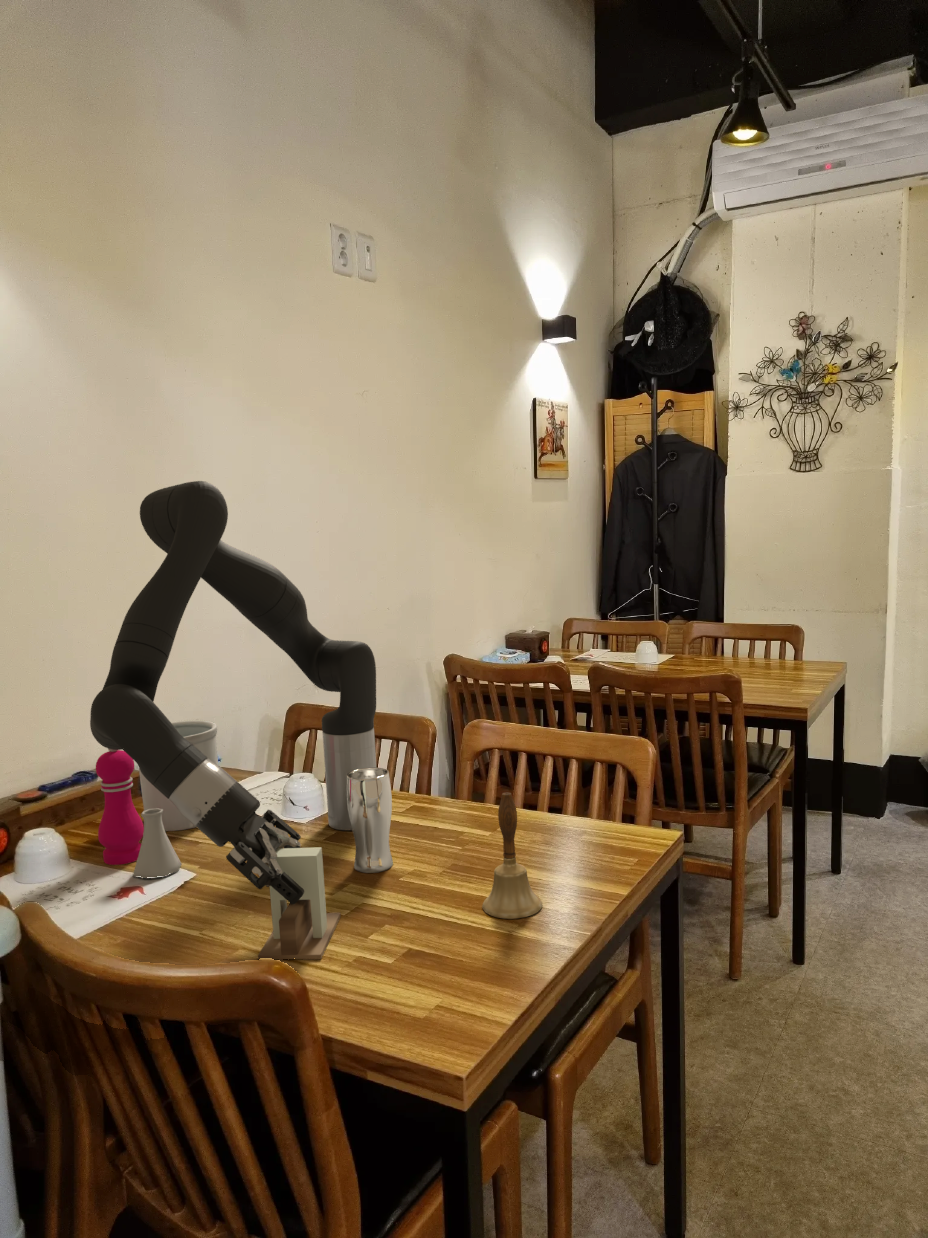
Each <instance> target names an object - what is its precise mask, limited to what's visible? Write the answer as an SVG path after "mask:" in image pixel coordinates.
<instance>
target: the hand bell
mask: <svg viewBox="0 0 928 1238" xmlns="http://www.w3.org/2000/svg"><path fill="white" fill-rule="evenodd" d="M497 815H498V817H497V818H498V825H499V829H500V832H501V835H502V841H503V845H502V846H503V847H502V849H503V854H502V856H503V861H502V862H503V863H502V864H499V865H497V867H495V868H494V872H493V884H492V888H491V891H490V892H489V895H488V896H487V897H486V898H485V899H484V901H483V902H482V905H481V906H482V910H483V911H484V912H485V913H486V914H487V915H489V916H492V917H495V918H498V919H499V918H500V919H505V920H507V919H508V920H514V919H515V920H516V919H520V918H521V919H522V918H526V917H530V916H533V915H536V914H537V913H538V912H539V911H540V910H542V908H543V901H542V900H541V898H540V897H539V896H538V895H537V894H536V893H535V892H534V891H533V889H532V886H531V885H530V881H529V877H528V871H527V868H526V866H524V865H523V864H520V863H518V862H517V860H516V859H517V857H516V854H517V853H516V846H515V835H516V831H517V827H518V826H517V825H518V812H517V807H516V804H515V801H514V799H513V796H512V793H511V792H509V791H508V792H507V791H506V792H502V794H501V797H500V802H499V806H498V812H497Z"/></svg>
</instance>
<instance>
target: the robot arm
mask: <svg viewBox="0 0 928 1238" xmlns="http://www.w3.org/2000/svg"><path fill="white" fill-rule="evenodd" d="M228 517H229V511H228V505H227V501H226V499H225V497H224V494H222V492H221V491H220V490H219V488H218V487H216V486H215V485H214V484H212V483H211V482H209V481H203V480H197V481H196V480H195V481H194V480H193V481H188V482H183V483H180V484H179V483H178V484H175V485H171V486H167V487H163V488H160V489H159V488H158V489H157V490H154V491H153V492H150V493H149V494H147V495H146V496H145V497H144V498H143V500H142V502H141V503H140V507H139V519H140V523H141V525H142V527H143V530H144V532H145V533H146V535H147V536H148V537H149V538H148V539H150V540H151V541H152V542H153V543H154V545H156V546H157V547H158V548H159V549H161V550H162V551H163V552H165V553H166V556H165V558H164V559H163V561H162V562H161V564H160V566H159V567H158V569H157V570H156V572H155V573H154V574H153V576H152V577H151V578H150V579H149V581H148V582H147V583H146V584H145V586H144V587H143V588H142V589H141V591H140V592H139V593H138V595H137V596H136V598H135V599H134V600H133V602H132V603H131V605H130V606H129V608H128V610H127V611H126V614H125V616H124V619H123V620H122V624H121V627H120V630H119V633H118V635H117V638H116V640H115V643H114V645H113V650H112V654H111V659H110V665H109V666H110V667H109V669H108V670H109V671H108V674H107V677H106V680H105V682H104V684H103V687H102V689H101V690H100V691H99V692H98V693H97V694H96V696H95V697H94V699H93V701H92V703H91V707H90V718H89V719H90V720H89V726H90V727H89V728H90V732H91V734H92V736H93V738H94V739H95V740H96V741H97V743H98V744H100V746H102V747H104V748H106V749H107V750H108V749H112V750H122V751H125V752H126V753H127V754H128V755H129V756H130V757H131V758H132V759H133V760H134V763H136V765H138V769H139V768H140V771H141V773H142V774H143V776H144V777H145V778H146V779H147V780H148V781H149V782H150V783H151V784H152V785H154V787H155V788H156V789H158V790H159V791H160V792H161V793H162V794H163V795H164V796H165V797H167V798H168V799H169V800H170V801H171V802H172V803H173V804H174V805H175V807H176V808H177V809H178V810H179V811H180V812H181V813H182V814H183V815H184V816H185V817H186V818H187V819H188V820H189V821H190V822H192V823H193V824H194V825H195V826H196V827H195V828H197V829H198V830H199V831H200V832H202V834H204V835H205V836H206V837H207V838H208V839H210V841H212V843H214V844H215V845H216V846H217V847H219V848H222V847H225V846H226V844H227V843H230V844H231V845H232V846H233V848H232V850H230V851H229V853H228V854H226V856H225V857H226V858H225V859H226V860H227V861H228V862H229V863H230V864H231V865H232V866H233V867H234V868H236V869H237V871H239V872H240V874H242V875H243V876H244V878H246V879H247V880H248V881H249V882H250V883H251V884H252V885H253V886H255V887H256V888H257V889H258V890H262V889H263V888H265V887H267V888H270V886H272V887H273V888H274V889H275V890H276V891H277V892H278V893H279V894H281V895H282V896H283V897H284V898H285V899H286V900H287V903H291V904H295V903H296V902H297V901H298V900H299V899H300V898H301V897H302V896H303V894H304V889H303V888H302V887H301V886H299V885H298V884H297V883H296V882H295V881H294V880H293V879H292V878H290V877H289V876H288V875H287V874H286V873H285V872H283V873H282V870H281V868H280V866H279V865H278V863H277V861H276V859H277V854H276V852H275V851H276V849H279V848H301V846H302V844H301V841H300V839H301V835H300V834H299V832H297V831H296V830H295V829H294V828H292V827H291V826H290V825H289V824H288V823H287V822H285V820H283V819H282V818H280V817H279V816H278V815H277V814H276V813H275V812H273V811H272V810H271V809H267V810H266V811H265V812H264V813H263V814H262V815H261V816H260V815H259V814H257V812H256V811H257V810H258V809H259V808H260V806H261V802H260V800H258V799H257V798H256V797H255V796H254V795H253V794H252V793H251V792H250V791H248V790H247V789H246V788H245V787H244V786H243V785H241V783H240V782H239V781H237V780H236V779H235V778H234V777H233V776H231V774H229V773H228V772H227V771H226V770H225V769H224V768H223V767H221V766H220V765H219V764H218V765H217V764H215V763H214V762H212V761H211V760H210V759H207V757H206V756H205V755H204V754H203V753H202V752H201V751H199V750H198V749H197V748H196V747H195V746H194V745H193V744H192V743H190V742H189V741H188V740H186V739H185V738H184V737H183V736H182V735H181V734H180V733H179V732H178V731H177V730H176V728H175V727H174V726H173V725H172V723H171V722H172V721H170V720H169V718H168V717H167V716H166V715H165V714H164V713H163V711H162V710H161V709H160V708H159V707H158V706H157V705H156V703H155V702H154V701H155V697H156V692H157V689H158V685H159V682H160V679H161V677H162V675H163V673H164V671H165V668H166V666H167V663H168V661H169V657H170V655H171V651H172V649H173V645H174V642H175V640H176V635H177V631H178V629H179V625H181V624H180V623H181V621H182V619H183V616H184V615H185V614H184V613H185V612H186V608H187V607H188V604H189V602H190V599H191V598H192V595H193V594H194V591H195V590H196V587H197V585H198V583H199V581H200V580H201V579H202V580H203V581H205V582H206V583H207V584H208V585H209V587H211V588H212V589H213V590H214V591H216V592H217V593H218V594H220V596H221V597H223V598H224V599H225V600H227V602H229V603H230V604H231V605H232V606H233V607H234V608H235V609H236V610H237V611H238V612H239V613H240V614H241V615H243V617H245V618H246V619H247V620H248V621H249V622H250V623H251V624H252V625H254V626H255V627H256V628H257V629H258V630H260V632H262V633H263V634H265V635H266V637H268V638H269V639H270V640H271V641H272V642H273V643H274V644H275V645H276V646H278V648H280V649H281V650H282V651H283V652H284V653H286V654H287V656H288V657H289V658H290V659H291V660H292V661H293V662H294V664H296V666H297V667H298V668H299V669H300V670H301V671H302V673H303V674H304V675H305V676H306V677H307V679H308V680H309V681H310V682H311V683H312V684H313V685H314V686H315V687H317V688H319V689H321V690H323V691H326V692H332V693H333V692H335V693H339V706H338V707H337V709H334V710H332V711H329V712H327V713H324V715H323V716H322V717H321V731H322V744H323V757H324V758H323V760H324V774H325V775H324V776H325V787H326V788H325V789H326V805H327V820H328V826H329V827H330V828H332V829H335V830H339V831H353V830H352V826H351V822H350V818H349V813H348V806H347V774H348V773H349V772H351V771H353V770H357V769H362V768H378V767H377V755H376V742H375V741H376V740H375V739H376V737H375V728H374V727H375V725H374V723H375V722H374V719H375V715H376V711H377V667H376V659H375V655H374V652H373V651H372V649H371V647H370V646H369V644H367V643H365V642H362V641H358V640H334V639H330V638H328V637H327V636H325V635H324V634H322V633H321V632H320V630H318V629H317V628H316V627H315V626H313V624H312V623H311V622H310V621H309V618H308V609H307V605H306V600H305V598H304V596H303V594H302V592H301V591H300V590H299V588H298V587H297V586H296V585H295V584H294V583H293V582H292V581H291V580H290V579H289V578H288V577H287V576H286V575H285V574H284V573H283V572H282V571H281V570H280V569H278V568H277V567H276V566H274V565H273V564H271V563H269V562H267V561H266V560H264V559H262V558H259V557H257V556H255V555H252V554H250V553H248V552H245V551H243V550H241V549H238V548H236V547H234V546H231V545H229V544H228V543H226V542H224V541H223V540H221V539H223V535H224V533H225V530H226V527H227V524H228V520H229V519H228ZM269 866H270V867H271V869H270V868H269ZM257 875H258V876H259V877H258V876H257Z"/></svg>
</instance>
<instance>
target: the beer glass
mask: <svg viewBox="0 0 928 1238" xmlns="http://www.w3.org/2000/svg"><path fill="white" fill-rule="evenodd" d="M347 806H348V813H349V818H350V822H351V826H352V830H351V831H352V834H353V837H354V844H355V855H354V857H355V858H354V863H353V865H354V866H353V867H354V869H355V871H356V872H359V873H364V874H375V873H381V872H385V871H387V870H390V868H392V867H393V864H394V861H393V856H392V853H391V848H390V831H391V829H390V828H391V820H392V809H393V799H392V788H391V779H390V771H389V770H388V769H386V768H383V767H377V768H362V769H357V770H353V771H351V772H349V773H348V774H347Z"/></svg>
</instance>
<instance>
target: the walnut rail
mask: <svg viewBox="0 0 928 1238" xmlns="http://www.w3.org/2000/svg"><path fill="white" fill-rule="evenodd" d="M326 916H327V929H326V931H325V933H324V935H323V938H313V929H312V915H311V901H310V900H298V901H297V902H296V903H295V904H291V903H290V902H288V904H287V908H286V910H285V911H284V913H283V915H282V916H281V918H280V920H279V930H280V939H274V937H273V931H271V933H270V935H269V936H268V938H267V940H266V941H265V943H264V945H263V947H262V948H261V949H260V951H259V952H258V954H257V960H258V959H260V958H272V959H279V961H284V960H283V959H288V960H287V961H289V959H294V958H295V959H303V960H322V959H323V957H322V956H324V954H325V952H326V950H327V948H328V946H329V943H330V942H331V938H332V937H333V935H334V932H335V930H336V928H337V925H338V923H339V922H340V919H341V916H342V915H341V912H326ZM326 947H327V948H326ZM324 951H325V952H324Z"/></svg>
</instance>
